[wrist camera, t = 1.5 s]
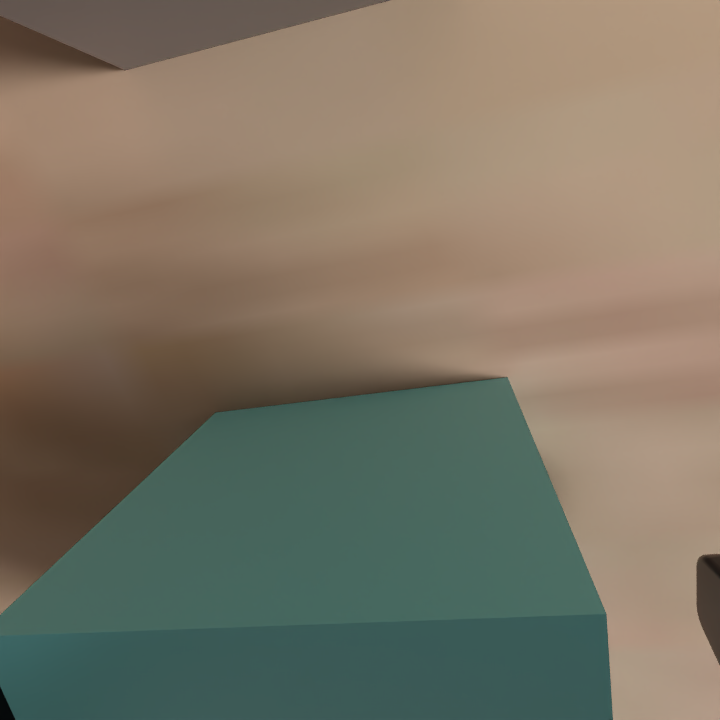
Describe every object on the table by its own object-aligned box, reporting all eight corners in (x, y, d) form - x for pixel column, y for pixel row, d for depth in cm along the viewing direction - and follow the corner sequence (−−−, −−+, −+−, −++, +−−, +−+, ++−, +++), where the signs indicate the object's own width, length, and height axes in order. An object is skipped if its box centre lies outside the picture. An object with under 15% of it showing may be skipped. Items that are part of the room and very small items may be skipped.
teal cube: (506, 375, 8) (605, 613, 3) (534, 629, 9) (633, 1057, 5) (217, 410, 9) (-23, 637, 4) (278, 637, 10) (145, 1002, 6)
